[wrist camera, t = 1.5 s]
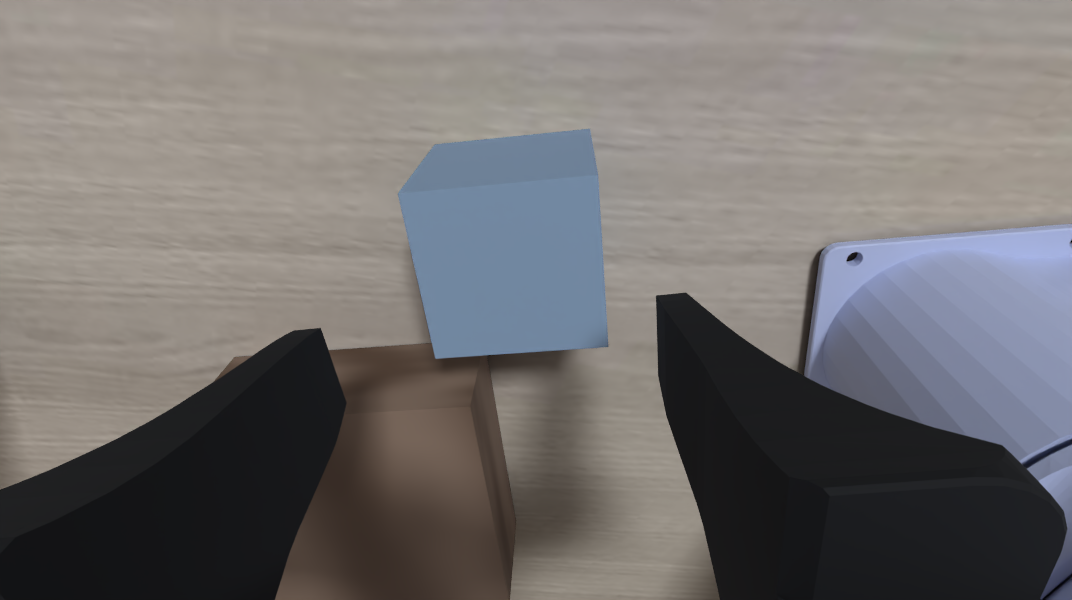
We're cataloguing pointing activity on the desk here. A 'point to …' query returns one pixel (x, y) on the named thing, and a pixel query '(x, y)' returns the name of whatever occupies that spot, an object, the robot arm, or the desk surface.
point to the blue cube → (509, 244)
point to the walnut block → (408, 485)
